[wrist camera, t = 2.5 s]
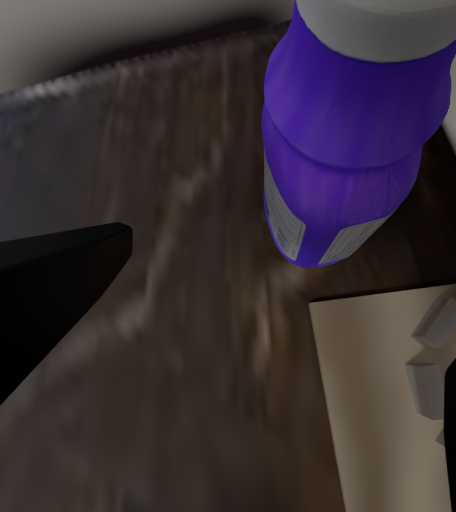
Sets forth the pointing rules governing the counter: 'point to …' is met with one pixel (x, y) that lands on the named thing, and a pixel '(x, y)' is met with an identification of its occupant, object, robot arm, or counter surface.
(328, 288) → the counter surface
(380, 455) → the collar plate
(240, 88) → the counter surface
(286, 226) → the bottle
